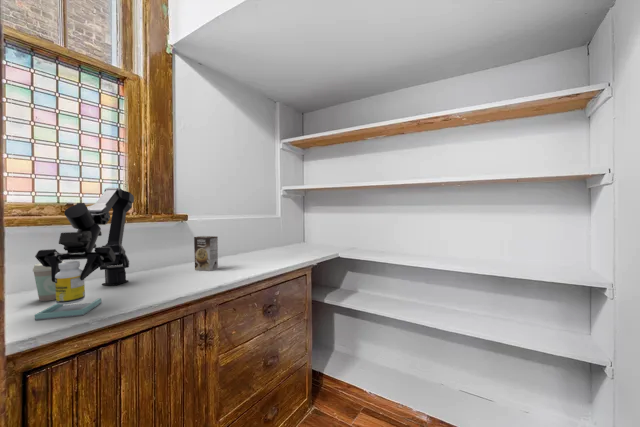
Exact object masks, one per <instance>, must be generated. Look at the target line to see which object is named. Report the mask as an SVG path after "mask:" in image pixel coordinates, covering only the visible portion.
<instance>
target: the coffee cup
mask: <svg viewBox="0 0 640 427" xmlns="http://www.w3.org/2000/svg"><path fill="white" fill-rule="evenodd" d="M64 262H65V260H63V261H62V263H64ZM32 272H33V276H34V281H35V286H36V290H37V295H38V299H39V301H41V302H46V301H47V302H49V301H53V300H56V287H55V282H52V277H51V267H45V266H43V265H42V264H41V263H40V262H39V263H36V264H34V266H33V268H32Z"/></svg>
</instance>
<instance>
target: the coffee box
mask: <svg viewBox="0 0 640 427" xmlns="http://www.w3.org/2000/svg"><path fill="white" fill-rule="evenodd" d="M218 241H219V240H218V236H214V235H213V236H212V235H200V236H198V235H197V236H194V237H193V246H194V250H193V251H194V270H195V271H205V272H211V271H215V270H218V269H219V263H218V261H219V257H218V256H219V255H218V254H219V251H218V250H219V249H218V246H219V244H218V243H219V242H218Z"/></svg>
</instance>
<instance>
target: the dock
mask: <svg viewBox="0 0 640 427" xmlns="http://www.w3.org/2000/svg"><path fill="white" fill-rule="evenodd" d="M101 304H102V297H99V298H97V299H95V300H94V301H92V302H84V303H77V304H76V303H72V304H65V305H60V304H57V303H56V302H55V304H53V305H51V306H49V307H47V308H45V309H43V310H41V311H39V312H38V313H35V314H34V321H39V320H42V321H43V320H50V319H60V318H70V317H81V316H84V315H86V314H87V313H89V312H90V311H92V310H93V309H94V308H96V307H97V306H99V305H101Z"/></svg>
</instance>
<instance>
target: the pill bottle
mask: <svg viewBox="0 0 640 427" xmlns="http://www.w3.org/2000/svg"><path fill="white" fill-rule="evenodd" d="M80 263H81V262H80V260H70V261H64V263H60V264H59V269H60V272H58V273H57V274H56V275H55V287H56V299H55V304H56V303H57V304H60V305H73V304H76V303H79V302H82V301H83V300H84V299H85V298H86V292H85V286H86V284H85V279H84V280H81V279H80V277H81V273H82V271H83V269H81V268H79V267H81V266H80V265H81V264H80Z"/></svg>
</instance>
